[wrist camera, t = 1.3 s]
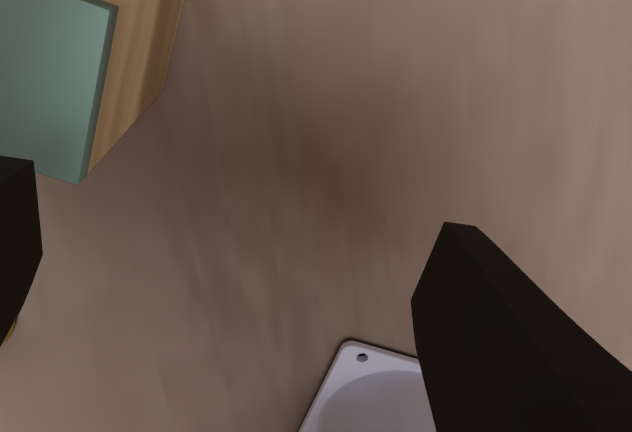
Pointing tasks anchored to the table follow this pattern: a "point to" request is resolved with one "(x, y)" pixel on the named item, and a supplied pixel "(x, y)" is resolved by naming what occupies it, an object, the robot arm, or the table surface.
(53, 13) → the block
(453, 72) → the table surface
